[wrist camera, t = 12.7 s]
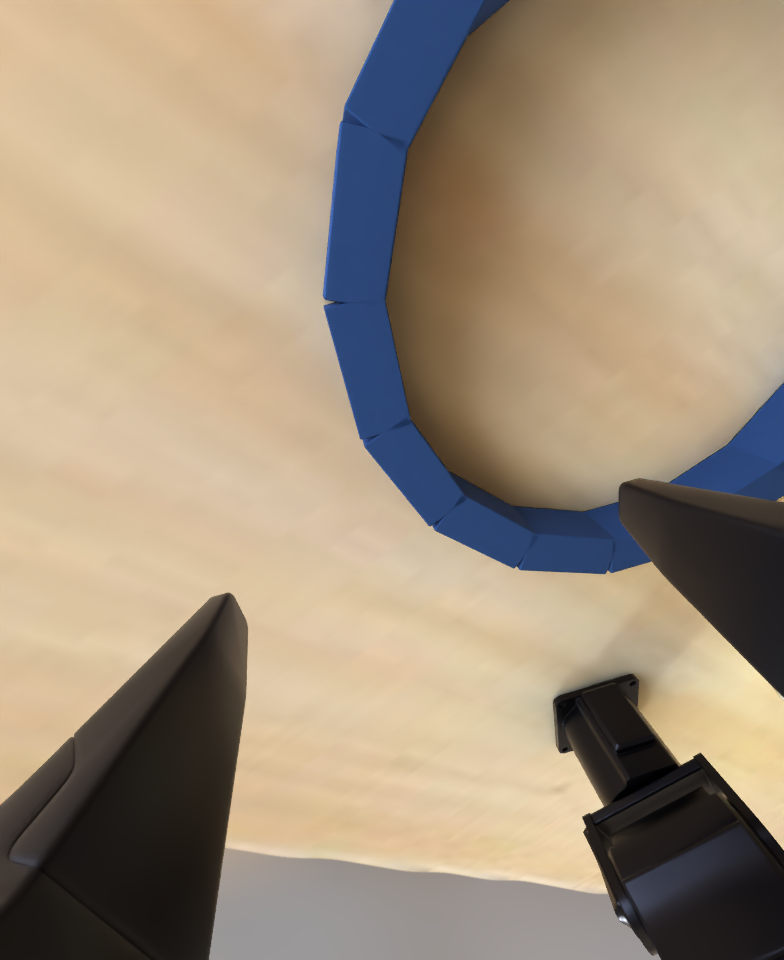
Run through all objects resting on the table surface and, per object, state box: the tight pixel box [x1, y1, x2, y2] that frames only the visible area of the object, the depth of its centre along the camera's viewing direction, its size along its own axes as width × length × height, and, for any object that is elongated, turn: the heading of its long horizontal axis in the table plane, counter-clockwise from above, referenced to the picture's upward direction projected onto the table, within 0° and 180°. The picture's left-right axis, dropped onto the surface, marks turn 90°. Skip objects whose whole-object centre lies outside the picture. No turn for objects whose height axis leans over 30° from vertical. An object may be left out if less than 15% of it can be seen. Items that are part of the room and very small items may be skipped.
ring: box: [323, 0, 784, 574], centre depth 18 cm, size 27×27×3 cm
